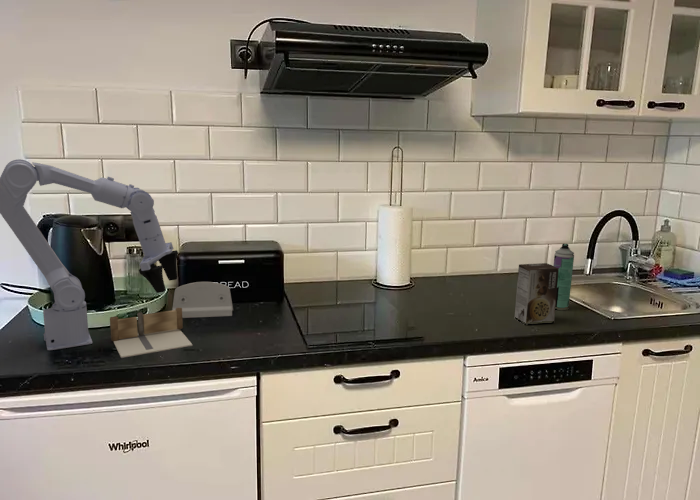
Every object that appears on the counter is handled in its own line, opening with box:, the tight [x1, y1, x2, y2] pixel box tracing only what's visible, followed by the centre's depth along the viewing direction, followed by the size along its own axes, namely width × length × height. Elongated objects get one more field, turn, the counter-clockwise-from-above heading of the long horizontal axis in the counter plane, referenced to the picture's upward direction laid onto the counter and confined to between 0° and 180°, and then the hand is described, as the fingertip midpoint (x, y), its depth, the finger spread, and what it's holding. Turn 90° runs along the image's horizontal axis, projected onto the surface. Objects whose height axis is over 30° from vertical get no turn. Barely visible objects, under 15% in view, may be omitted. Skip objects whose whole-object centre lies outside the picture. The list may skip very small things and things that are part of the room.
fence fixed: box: [109, 316, 138, 342], centre depth 135 cm, size 6×2×6 cm, turn 121°
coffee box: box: [514, 262, 559, 323], centre depth 155 cm, size 9×6×16 cm
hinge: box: [171, 281, 234, 319], centre depth 156 cm, size 17×5×10 cm, turn 102°
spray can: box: [553, 243, 575, 308], centre depth 168 cm, size 6×6×20 cm
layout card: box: [112, 329, 193, 359], centre depth 134 cm, size 16×14×1 cm
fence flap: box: [137, 308, 184, 336], centre depth 139 cm, size 11×2×6 cm, turn 121°
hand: (167, 285), depth 142 cm, fingers open, 7 cm apart
